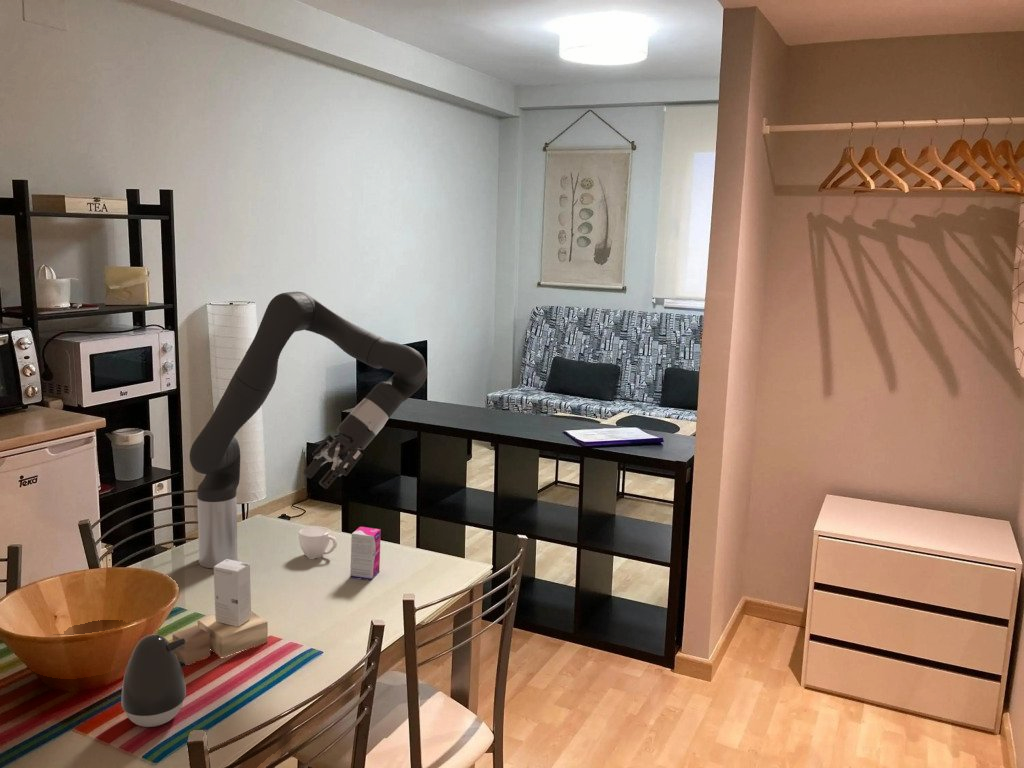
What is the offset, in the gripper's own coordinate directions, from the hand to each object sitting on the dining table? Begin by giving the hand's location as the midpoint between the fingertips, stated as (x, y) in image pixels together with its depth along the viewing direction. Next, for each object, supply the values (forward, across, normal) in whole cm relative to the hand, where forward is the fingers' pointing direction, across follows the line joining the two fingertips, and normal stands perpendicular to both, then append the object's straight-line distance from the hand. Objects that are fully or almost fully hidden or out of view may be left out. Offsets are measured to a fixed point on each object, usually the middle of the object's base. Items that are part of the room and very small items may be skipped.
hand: (314, 481), depth 179 cm
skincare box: (+32, +3, +5) cm, 32 cm away
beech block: (+35, +3, +9) cm, 36 cm away
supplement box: (+8, -14, +36) cm, 39 cm away
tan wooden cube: (+41, +5, +2) cm, 42 cm away
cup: (+12, -31, +32) cm, 46 cm away
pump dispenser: (+49, +23, -6) cm, 55 cm away
